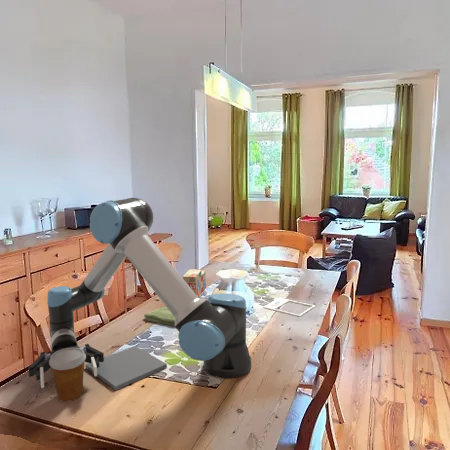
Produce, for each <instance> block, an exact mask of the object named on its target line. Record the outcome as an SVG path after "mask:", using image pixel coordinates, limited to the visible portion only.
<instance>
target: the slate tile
mask: <svg viewBox="0 0 450 450" xmlns="http://www.w3.org/2000/svg"><path fill="white" fill-rule="evenodd" d="M99 366H100V367H99V368H97V376H96V377H97V378H98V379H100V380H101V381H103V382H104V383H105V384H106V383H107V384H106V385H108V387H110V388H111V389H113V390H115V391H118V390H120V389H123V388H124V387H126V386H128V385H131V384H133V383H135V382H137V381H139V380H142V379H144V378H146V377H149V376H151V375H153V374H155V372H156V373H158V372H159V371H162V370H164V368H165V369H167V368H168V367H167V366H168V365H167V363H166V362H164V361H163V360H161V359H159V358H157V357H156V356H154V355H151V354H150V353H149V352H147V351H145V350H144V349H142V348H140V347H138V346H136V345H134V346H131V347H129V348H125V349H123V350H120V351H117V352H115V353H112V354H109V355H107V356H104V362H99ZM166 367H167V368H166ZM85 369H86V370H88V371H89V372H91V373H92V374H93V375H94V373H93V369H92V366H91V363H86V364H85ZM157 371H158V372H157ZM152 373H153V374H152ZM150 374H151V375H150ZM148 375H149V376H148Z"/></svg>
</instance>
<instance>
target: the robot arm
mask: <svg viewBox="0 0 450 450" xmlns="http://www.w3.org/2000/svg"><path fill="white" fill-rule="evenodd" d="M153 223H154V212H153V209H152V208H151V206H150V205H149V203H148V202H146V201H145V200H144V199H141V198H139V197H130V198H124V199H118V200H106V201H105V202H104V201H103V202H101V203H99V204H97V205H96V206H95V207H94V208H93V209H92V212H91V213H90V217H89V228H90V232H91V235H92V236H93V238H94V239H95V240H96V241H97V242H99V243H101V244H105V245H106V246H105V248H104V250H103V251H102V252H101V254H100V256H99V257H98V259H97V260H96V261H95V263H94V264H93V266H92V267H91V269H90V270H89V272H88V273H87V275H86V276H85V278H84V279H83V281H82V282H81V283H80V284H79V285H78V286H75V287H72V288H71V287H70V286H66V285H60V286H59V285H58V286H55V287H52V288H50V289H49V290H48V292H47V307H48V309H47V310H48V317H49V320H48V321H49V323H48V324H49V337H50V346H51V352H50V353H46V351H42V352H40V355H39V356H38V357H37V358H36V359H35V360H34V361H33V362H31V364H30V365H29V366H28V367H27V370H28V376H29V378H31V377H34V376H35V380H36V381H40V388H41V389H43V388H45V375H44V373H46V372H47V371H49V370H50V369H52V368H51V366H50V365H49V360H50V358H51V355H52V354H53V353H55V352H56V351H59V350H62V349H65V348H80V349H82V350H83V351H84V353H85V354H86V359H85V361H84V363H86V364H88V363H91V366H92V369H93V373H94V374H93V373H92V374H93V376H94V378H95V377H97V368H99V367H100V366H99V362H104V357H105V356H104V352H102V351H100V350H98V349H96V348H94V347H92V346H90V344H89V343H86V344H84V346H83V347H80V346H79V345H78V341H77V338H76V334H75V333H76V332H75V324H74V312H75V311H77V310H80V309H82V308H85V307H86V306H89V305H90V304H91V305H92V304H93V303H96V302H98V301H99V300H101V299H102V298H103V297H104V295H105V287H106V286H107V285H108V283H109V282H110V281H111V279H112V278H113V276H114V275H115V274H116V272H117V271H118V269H119V268H120V267H121V266H122V264H123V262H124V261H125V260H126V258H127V259H128V260H129V262H130V263H131V265H133V266H134V268H135V269H136V270H137V272H138V273H139V274H140V275H141V277H142V278H143V279H144V280H145V282H146V283H147V285H148V286H149V288H151V289H152V291H153V292H154V294H155V295H156V296H157V297H158V298H159V299H160V300H161V302H162V303H163V305H164V307H167V308H168V309H169V311H170V312H171V313H172V314H173V316H174V317H175V325H174V326H173V327H174V328H175V329H176V330H177V331H178V344H179V347H180V349H181V350H182V351H183V352H184V354H186V356H187V357H189V358H191V359H193V360H196V361H201V362H203V369H204V371H205V372H206V373H207V374H209V375H211V376H212V377H216V378H221V379H233V378H238V377H242V376H244V375H246V374H248V373H249V372H250V371H251V369H252V356H251V354H250V352H249V347H248V346H247V345H248V344H247V303H246V299H245V297H243V296H241V295H239V294H234V293H215V294H214V293H213V294H211V295H209V296H208V299H206V298H202V297H199V298H198V296H197V295H196V294H195V293H194V292H193V290H192V289H191V288H190V287H189V285H188V284H187V283H186V282H185V280H184V279H183V276H181V274H180V273H179V272H178V271H177V269H176V268H175V267H174V265H172V263H171V262H170V260H168V258H167V257H166V256H165V255H164V254H163V252H162V251H161V250H160V248H158V246H157V245H156V244H155V242H154V241H153V240H152V239H151V237H150V235H149V234H148V233H149V231H150V230H151V228H152V226H153Z"/></svg>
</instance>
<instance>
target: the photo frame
mask: <svg viewBox="0 0 450 450" xmlns="http://www.w3.org/2000/svg"><path fill="white" fill-rule="evenodd" d="M289 302H290V303H294V304H298V305H303V306H307V307H309V308H307V309H306V310H305V311H303V312H301V313H300V314H297V313H294V312H289V311H285V310H281V309H280V310H279V308H280V307H281V306H282V307H283V306H284V305H286V304H287V303H289ZM315 307H316V305H314V304H310V303H305V302H300V301H297V300H296V301H295V300H291V299H286V298H282V297H279V298H277V299H275V300H273V301H271V302H269V303H268V304H266V305H264V306H262V308H263V309H268V310H271V311H274V312H275V311H276V312H278V313H283V314H287V315H291V316H295V317H299V318H300V317H303V316H304V315H305V314H307V313H309V312H310V311H312V310H313V309H314V308H315Z"/></svg>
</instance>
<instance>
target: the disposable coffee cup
mask: <svg viewBox="0 0 450 450" xmlns="http://www.w3.org/2000/svg"><path fill="white" fill-rule="evenodd" d="M80 348H81V347H80ZM80 348H65V349H62V350H59V351H56V352H55V353H53V354H52V355H51V358H50V360H49V365H50V366H51V368H50V369H51V371H52V376H53V380H54V385H55V386H54V387H55V388H56V390H55V391H56V393H57V398H58V400H59V401H61V402H72V401H75V400H77V399H79V398H80V397H81V396H82V395H83V386H84V374H85V373H84V372H85V362H84V361H85V359H86V354H85V353H84V351H83V350H82V349H80Z"/></svg>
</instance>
